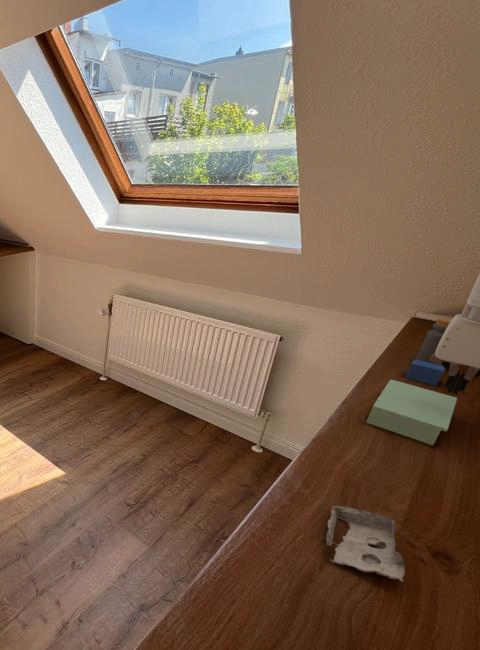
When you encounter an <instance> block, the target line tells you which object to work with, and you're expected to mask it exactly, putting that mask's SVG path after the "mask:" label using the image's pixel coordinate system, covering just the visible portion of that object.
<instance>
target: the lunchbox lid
mask: <svg viewBox="0 0 480 650" xmlns="http://www.w3.org/2000/svg"><path fill="white" fill-rule="evenodd" d="M457 401H458V397H456V396H453V395H448V394H445V393H441V392H438V391H435V390H430V389H427V388H423V387H419V386H417V385H412V384H410V383H405V382H401V381H398V380H394V379H390V380H389V381H388V382H387V384H386V385H385V387H384V389H383V390H382V392H381V393H380V395H379V396H378V397H377V399H376V401H375V402H374V404H373V405H372V407H371V409H372V408H375V409H378V410H381V411H384V412H387V413H390V414H393V415H396V416H400V417H403V418H406V419H409V420H412V421H415V422H418V423H421V424H424V425H427V426H430V427H433V428H436V429H440V430H441V431H443V432H448V430H449V427H450V423H451V420H452V417H453V413H454V410H455V407H456V404H457Z"/></svg>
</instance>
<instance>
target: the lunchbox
mask: <svg viewBox="0 0 480 650" xmlns="http://www.w3.org/2000/svg"><path fill="white" fill-rule="evenodd" d="M365 423H366V424H370V425H373V426H375V427H378V428H380V429H384V430H387V431H390V432H392V433H394V434H395V433H396V434H399V435H401V436H404V437H408V438H410V439H413V440H416V441H418V442H422V443H424V444H427V445H430V446H434V445H435V443H436V441H437V439H438V437H439V435H440V433H441V431H442V430H440V429H436V428H433V427H430V426H427V425H424V424H421V423H418V422H415V421H412V420H409V419H406V418H403V417H400V416H396V415H393V414H390V413H387V412H384V411H381V410H378V409H375V408H372V407H371V409H370V412H369V415H368V417H367V420H366V421H365Z"/></svg>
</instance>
